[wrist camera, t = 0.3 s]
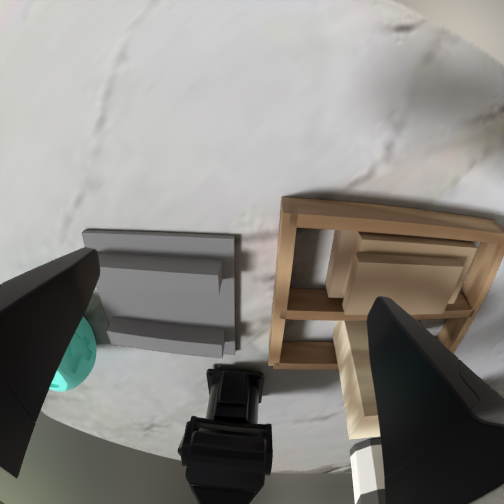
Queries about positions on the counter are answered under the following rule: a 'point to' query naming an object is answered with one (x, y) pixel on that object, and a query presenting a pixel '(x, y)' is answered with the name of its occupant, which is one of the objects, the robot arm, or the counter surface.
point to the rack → (378, 221)
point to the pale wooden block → (356, 378)
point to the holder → (167, 290)
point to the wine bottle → (368, 472)
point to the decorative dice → (76, 359)
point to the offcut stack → (397, 271)
